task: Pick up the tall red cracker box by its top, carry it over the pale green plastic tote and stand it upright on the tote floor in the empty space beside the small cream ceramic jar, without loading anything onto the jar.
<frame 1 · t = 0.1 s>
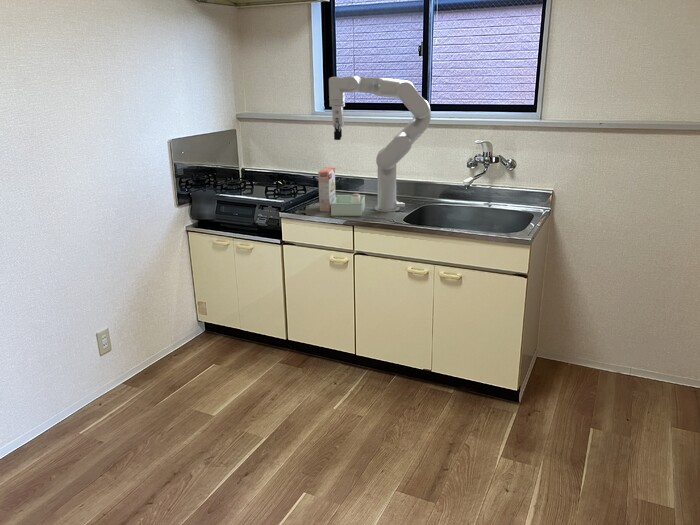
hand: (338, 138, 284), 37 cm above the countertop, tool pointing down, fingers open, 9 cm apart
jar: (356, 210, 291), point 1 cm above the countertop, touching tote
tote: (348, 212, 291), on the countertop
cracker box: (328, 209, 298), on the countertop
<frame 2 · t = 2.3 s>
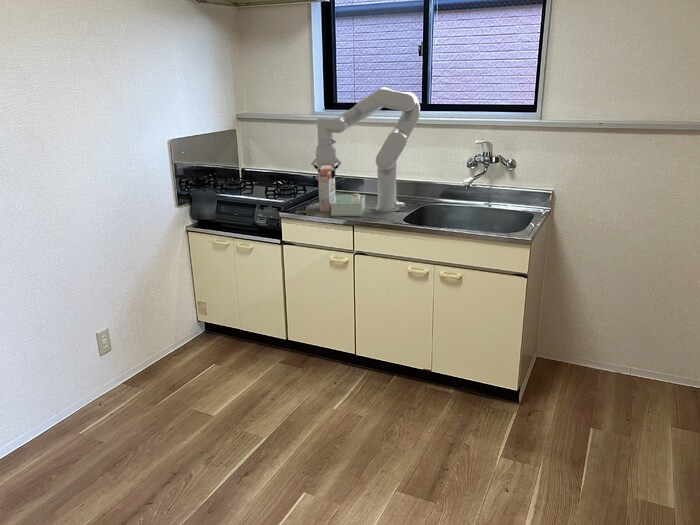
hand: (326, 177, 293), 17 cm above the countertop, tool pointing down, fingers closed on cracker box, 6 cm apart
cracker box: (328, 209, 298), on the countertop, touching gripper
everything else where it was.
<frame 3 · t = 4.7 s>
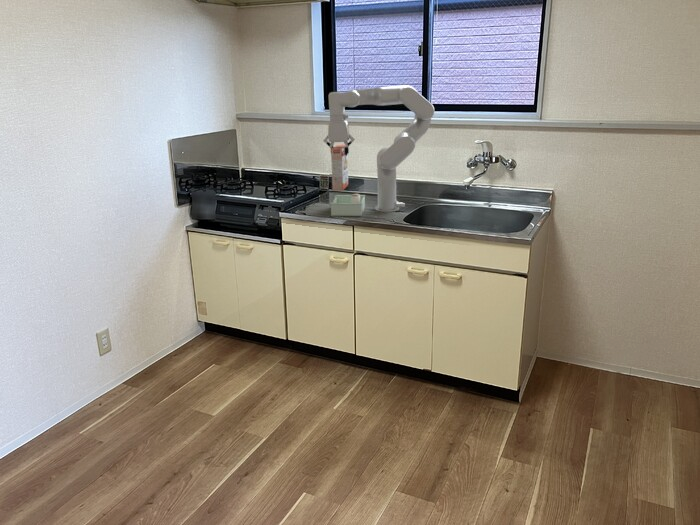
hand: (339, 154, 283), 29 cm above the countertop, tool pointing down, fingers closed on cracker box, 6 cm apart
cracker box: (340, 188, 289), point 12 cm above the countertop, touching gripper
everything else where it was.
when the fingers open (19 cm above the countertop, at t = 7.4 s): cracker box drops 1 cm, resting on tote.
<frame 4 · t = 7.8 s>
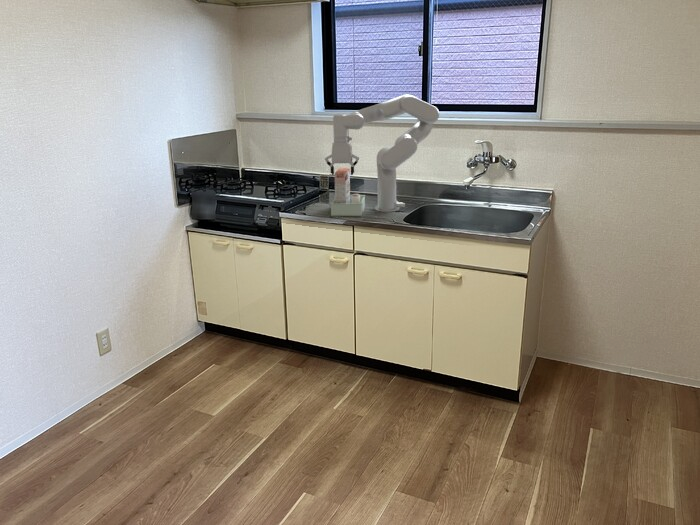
hand: (342, 174, 285), 19 cm above the countertop, tool pointing down, fingers open, 9 cm apart
cracker box: (343, 211, 292), resting on tote
everything else where it was.
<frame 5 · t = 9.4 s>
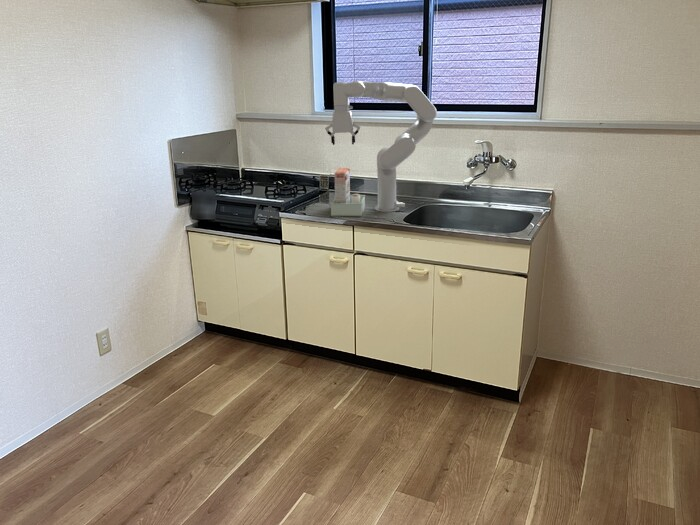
hand: (343, 144, 282), 34 cm above the countertop, tool pointing down, fingers open, 9 cm apart
nothing on the countertop moved.
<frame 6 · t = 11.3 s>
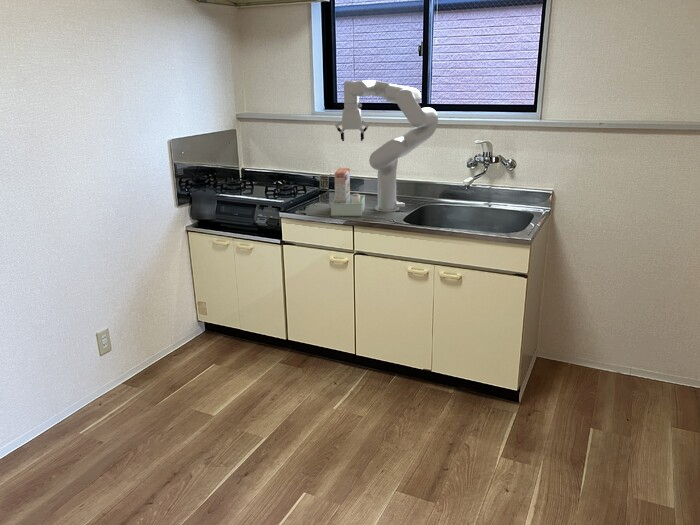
hand: (352, 140, 292), 34 cm above the countertop, tool pointing down, fingers open, 9 cm apart
nothing on the countertop moved.
at the end: cracker box inside the target area on the tote (0.2 cm from its centre), point 0.4 cm above the tote's base; cracker box tilted 0°; jar moved 0.0 cm from its start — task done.
